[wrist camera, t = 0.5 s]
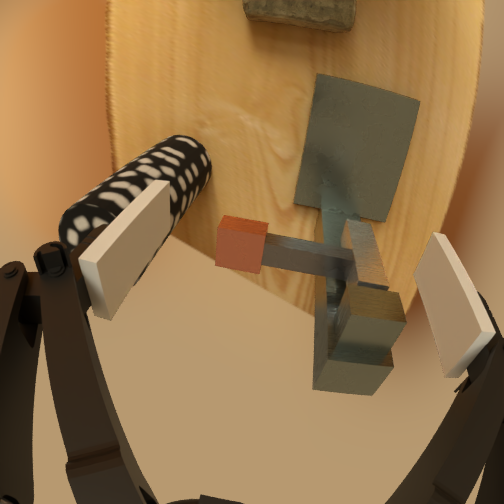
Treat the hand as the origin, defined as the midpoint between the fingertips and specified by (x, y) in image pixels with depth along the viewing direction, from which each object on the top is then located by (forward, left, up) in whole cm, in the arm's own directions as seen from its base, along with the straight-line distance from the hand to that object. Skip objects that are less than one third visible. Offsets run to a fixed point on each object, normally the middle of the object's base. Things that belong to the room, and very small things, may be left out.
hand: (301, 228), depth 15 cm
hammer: (+7, +1, -14) cm, 15 cm away
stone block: (-15, -3, -25) cm, 29 cm away
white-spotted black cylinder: (+7, -15, -24) cm, 29 cm away
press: (+3, +6, -24) cm, 25 cm away
